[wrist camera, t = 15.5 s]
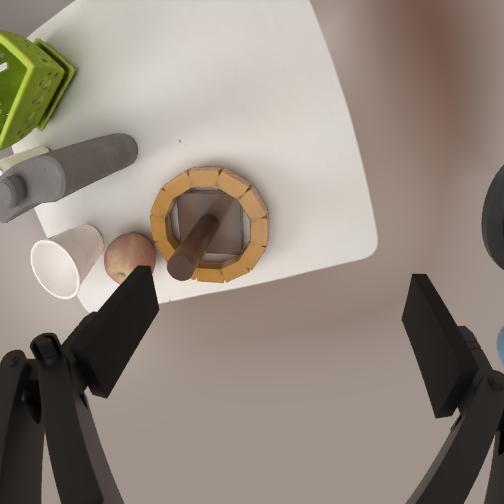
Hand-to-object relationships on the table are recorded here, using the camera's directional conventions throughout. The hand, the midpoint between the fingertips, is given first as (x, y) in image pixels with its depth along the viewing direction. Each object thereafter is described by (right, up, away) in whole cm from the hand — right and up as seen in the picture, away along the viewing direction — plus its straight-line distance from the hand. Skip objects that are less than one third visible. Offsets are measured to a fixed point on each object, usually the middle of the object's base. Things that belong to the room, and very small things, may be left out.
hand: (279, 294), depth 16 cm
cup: (-29, +4, +35) cm, 46 cm away
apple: (-19, +3, +35) cm, 40 cm away
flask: (-25, +17, +29) cm, 42 cm away
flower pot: (-35, +30, +24) cm, 52 cm away
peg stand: (-7, +7, +31) cm, 32 cm away
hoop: (-7, +6, +30) cm, 31 cm away
